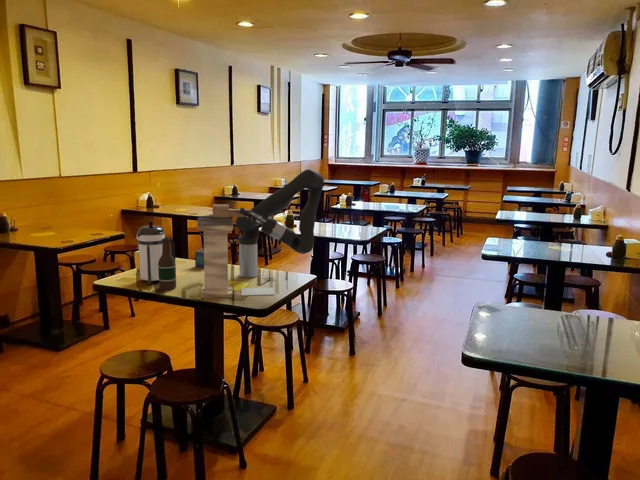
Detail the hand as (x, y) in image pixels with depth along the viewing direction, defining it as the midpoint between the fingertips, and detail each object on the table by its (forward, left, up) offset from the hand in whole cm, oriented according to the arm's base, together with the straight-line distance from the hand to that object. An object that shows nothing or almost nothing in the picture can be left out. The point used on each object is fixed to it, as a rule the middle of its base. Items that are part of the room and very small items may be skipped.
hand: (240, 209), depth 221 cm
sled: (0, -4, -3) cm, 5 cm away
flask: (-50, -21, -39) cm, 67 cm away
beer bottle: (-10, -34, -39) cm, 53 cm away
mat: (0, +7, -38) cm, 39 cm away
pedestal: (0, -11, -38) cm, 40 cm away
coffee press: (-25, -42, -39) cm, 62 cm away
